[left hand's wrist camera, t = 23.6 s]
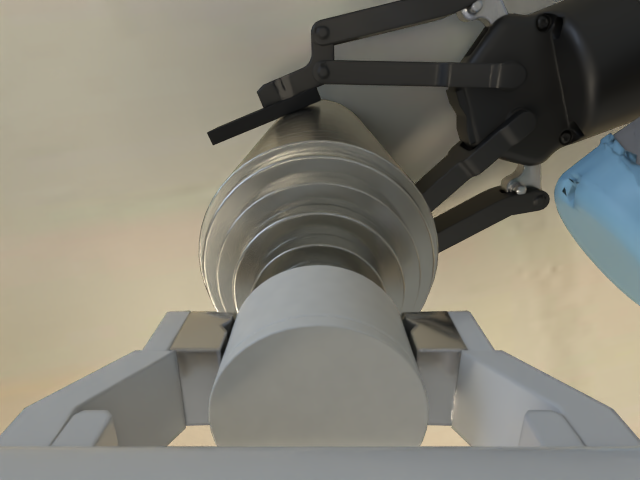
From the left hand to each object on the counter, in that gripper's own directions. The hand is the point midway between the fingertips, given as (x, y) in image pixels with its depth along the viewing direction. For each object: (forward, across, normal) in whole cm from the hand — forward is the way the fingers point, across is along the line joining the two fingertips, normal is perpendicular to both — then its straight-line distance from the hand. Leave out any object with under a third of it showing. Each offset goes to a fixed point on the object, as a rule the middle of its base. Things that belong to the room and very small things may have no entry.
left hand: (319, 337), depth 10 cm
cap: (-2, 0, 0) cm, 2 cm away
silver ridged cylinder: (+24, 0, 0) cm, 24 cm away
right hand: (+18, -5, -2) cm, 18 cm away
